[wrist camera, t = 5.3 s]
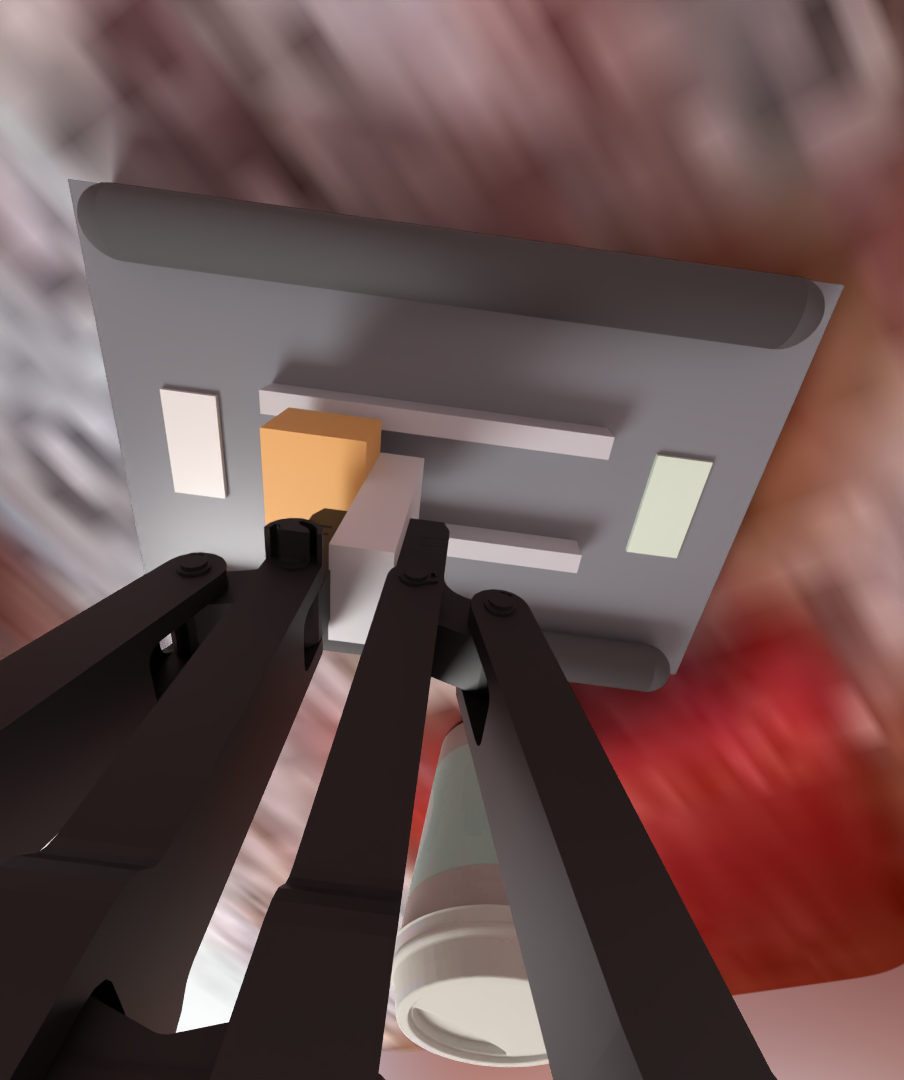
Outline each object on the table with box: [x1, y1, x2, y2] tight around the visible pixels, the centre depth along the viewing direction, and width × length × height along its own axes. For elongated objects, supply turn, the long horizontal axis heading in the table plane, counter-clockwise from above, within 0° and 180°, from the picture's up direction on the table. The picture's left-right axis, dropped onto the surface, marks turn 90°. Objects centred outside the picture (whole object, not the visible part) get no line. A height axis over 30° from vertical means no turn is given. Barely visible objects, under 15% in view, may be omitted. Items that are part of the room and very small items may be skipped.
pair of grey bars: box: [77, 182, 825, 692], centre depth 18 cm, size 22×16×2 cm
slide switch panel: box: [68, 179, 844, 675], centre depth 20 cm, size 24×16×3 cm, turn 83°
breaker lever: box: [260, 407, 382, 525], centre depth 17 cm, size 3×5×4 cm, turn 173°
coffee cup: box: [391, 723, 549, 1067], centre depth 24 cm, size 8×9×12 cm
